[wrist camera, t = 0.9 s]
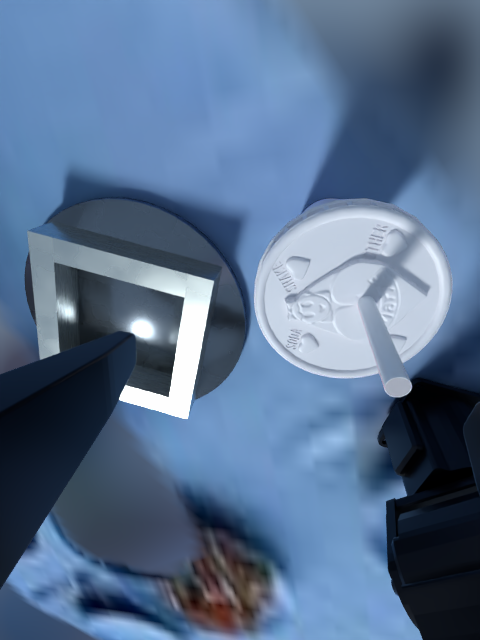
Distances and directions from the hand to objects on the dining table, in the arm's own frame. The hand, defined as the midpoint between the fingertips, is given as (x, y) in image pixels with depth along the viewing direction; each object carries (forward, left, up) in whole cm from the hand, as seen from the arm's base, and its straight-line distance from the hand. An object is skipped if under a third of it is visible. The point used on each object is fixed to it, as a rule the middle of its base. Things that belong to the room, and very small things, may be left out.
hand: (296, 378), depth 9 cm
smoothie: (-1, -1, -13) cm, 13 cm away
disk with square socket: (+10, +8, -13) cm, 18 cm away
